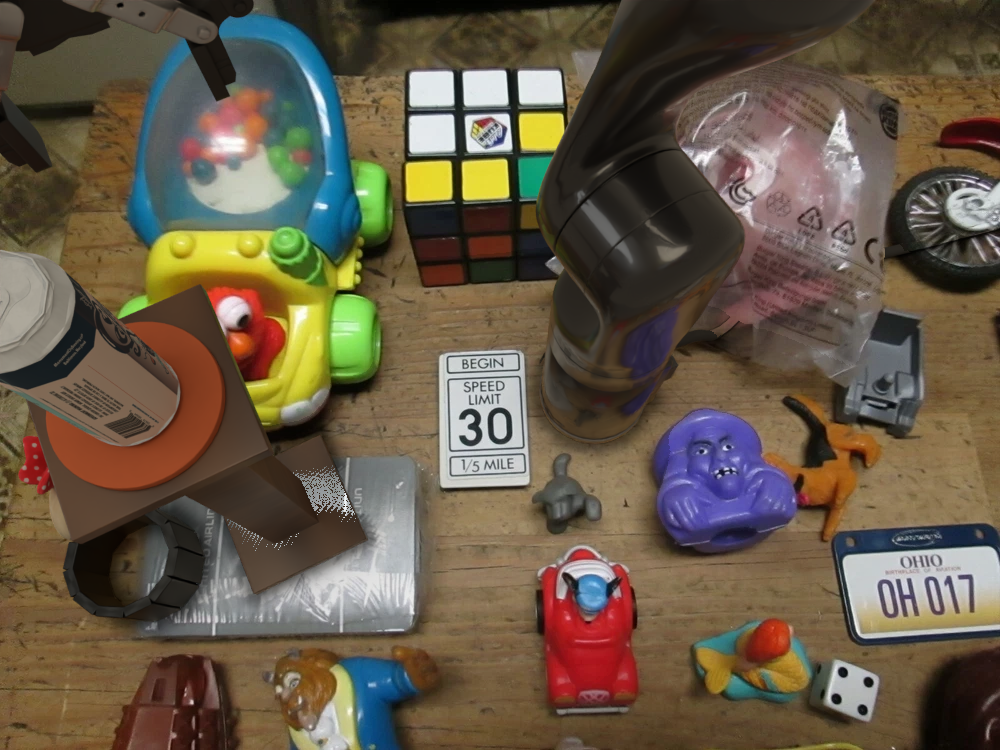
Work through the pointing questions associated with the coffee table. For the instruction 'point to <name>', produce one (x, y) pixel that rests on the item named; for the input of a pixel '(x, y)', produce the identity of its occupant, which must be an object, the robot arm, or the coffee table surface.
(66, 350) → the beer can
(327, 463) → the stand
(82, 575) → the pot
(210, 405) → the disc
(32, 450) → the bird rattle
